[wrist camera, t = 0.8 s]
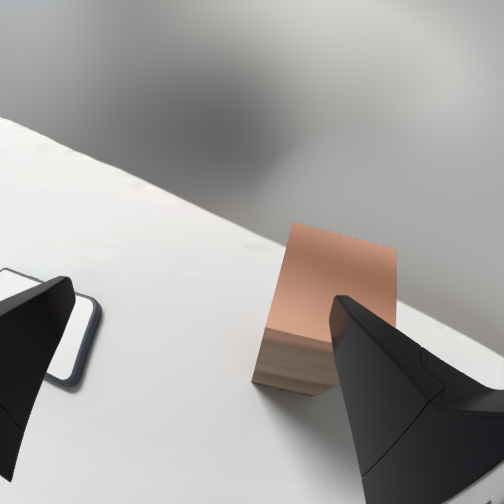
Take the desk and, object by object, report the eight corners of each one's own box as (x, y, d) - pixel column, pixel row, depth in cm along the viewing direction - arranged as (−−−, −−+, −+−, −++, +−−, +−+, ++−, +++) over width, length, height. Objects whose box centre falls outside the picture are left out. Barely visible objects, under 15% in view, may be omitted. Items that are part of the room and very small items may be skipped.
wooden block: (313, 396, 20) (393, 354, 9) (251, 382, 21) (265, 326, 10) (325, 338, 23) (395, 249, 12) (267, 325, 23) (292, 222, 13)
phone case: (108, 305, 24) (8, 271, 25) (102, 298, 23) (1, 263, 24) (80, 393, 19) (-19, 335, 20) (71, 390, 18) (-27, 330, 19)
